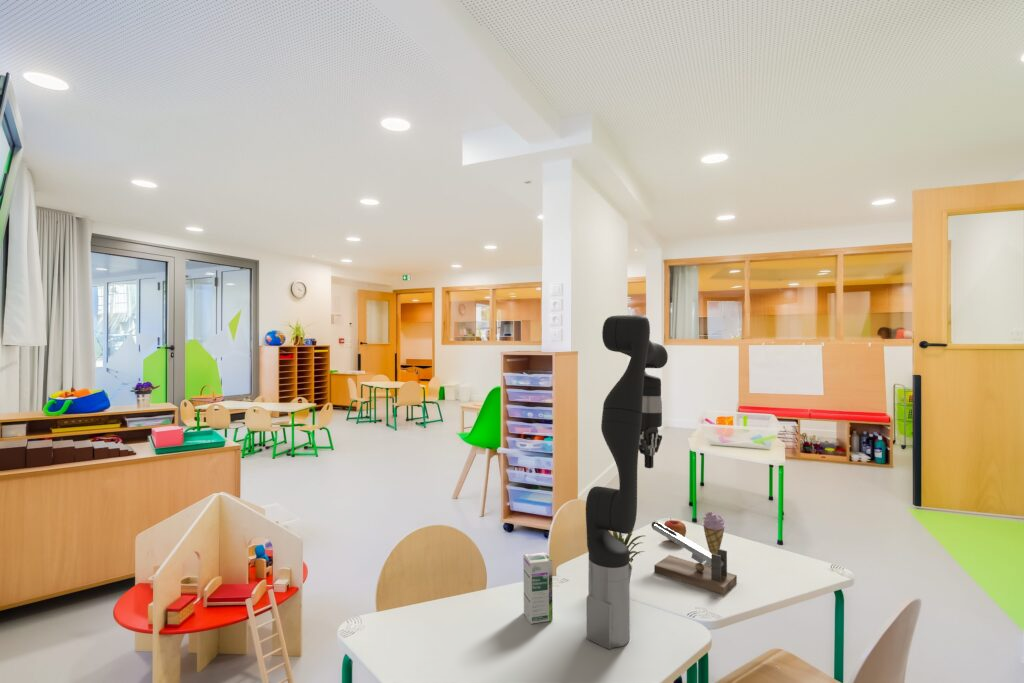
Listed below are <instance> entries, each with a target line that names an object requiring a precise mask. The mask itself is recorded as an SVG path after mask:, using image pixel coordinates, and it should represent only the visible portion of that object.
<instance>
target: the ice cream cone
mask: <svg viewBox="0 0 1024 683" xmlns="http://www.w3.org/2000/svg"><path fill="white" fill-rule="evenodd" d="M702 520H703V531H704V535H705V540H706V544H707V547H708V551H709V552H710V553H713V554H716V555H717V549H721V545H722V541H723V538H724V532H725V528H726V526H725V519H724V518H723V517H722V515H720V514H718V513H715V512H713V511H711V510H710V511H707V513H705V516H704V517H702Z"/></svg>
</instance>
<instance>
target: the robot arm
mask: <svg viewBox="0 0 1024 683" xmlns="http://www.w3.org/2000/svg"><path fill="white" fill-rule="evenodd" d="M603 322H604V323H603V325H602V330H601V331H602V332H601V334H602V335H601V336H602V342H603V345H604V347H605V348H606V349H607V350H609V351H611V352H615V353H622V354H624V355H626V356H628V357H630V360H629V362H628V365H627V367H626V369H625V372H624V373H623V375H622V376H621V377H620V379H619V380H618V381H617V382H616V383H615V385H614V386H613V387H612V389H611V390H610V392H608V394H607V396H605V397H606V398H605V399H604V401H603V405H602V406H603V407H602V415H601V424H600V425H601V426H600V427H601V428H600V429H601V433H602V437H603V438H604V441H605V444H606V445H607V447H608V449H609V451H610V453H611V455H612V458H613V459H614V461H615V465H616V468H617V473H618V480H619V481H618V482H619V487H618V488H611V487H605V486H599V485H598V486H592V488H590V490H589V491H588V493H587V496H586V500H585V502H586V503H585V526H586V547H587V551H588V575H587V576H588V578H587V579H588V582H587V583H588V588H587V589H588V595H587V596H586V639H587V640H589V641H591V642H593V643H595V644H597V645H599V646H601V647H603V648H605V649H607V650H612V649H613V648H620V647H623V646H626V645H627V644H628V643H629V642H630V636H631V635H630V632H631V631H630V630H631V629H630V627H631V626H630V625H631V624H630V622H631V620H630V619H631V618H630V617H631V616H630V613H631V612H630V610H631V609H630V607H631V606H630V604H631V602H630V584H629V563H630V558H631V557H630V555H631V554H629V551H630V549H629V548H628V547H627V546H626V545H625V544H623V543H622V542H620V541H619V540H617V539H616V538H615V537H614V536H613V532H617V533H618V534H619V533H621V534H627V535H628V533H630V532H631V531H632V530H633V529H635V525H636V521H637V513H638V512H637V511H638V466H639V464H638V463H639V453H640V454H642V455H643V456H644V468H645V469H653V468H654V456H655V455H656V453H658V452H659V448H660V445H661V442H662V440H663V435H661V434H659V428H660V427H662V426H663V401H662V380H661V378H660V377H659V376H656V375H655V376H654V375H650V374H648V373H647V372H646V369H663V367H665V365H666V364H667V362H668V360H669V359H668V357H669V355H668V352H667V350H666V348H665V346H663V345H662V344H660V343H658V342H657V343H656V342H654V341H653V342H652V341H651V339H650V336H651V327H650V325H651V324H650V321H649V318H648V317H647V316H645V315H636V314H633V315H630V314H629V315H611V316H609V317H607V318H606V319H605V321H603ZM633 531H634V530H633ZM611 532H612V533H611Z"/></svg>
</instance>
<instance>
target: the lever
mask: <svg viewBox="0 0 1024 683" xmlns="http://www.w3.org/2000/svg"><path fill="white" fill-rule="evenodd" d="M651 528H652V530H653V531H655V532H656V533H659V534H660V535H661V536H663V537H665V538H666V539H668V540H669V539H670V540H672V541H673V542H674V543H675V544H677V545H679V546H680V547H682V548H684V549H685V550H687V551H689V552H690V553H692V554H691V559H693V560H694V561H696V562H697V563H701V564H704V562H706V563H709V564H710V565H711V554H712V553H710V551H709V550H707V549H705V548H703V547H702V546H700V545H698V544H697V543H694V542H693V541H692V540H689V539H688V538H686V536H685V537H683V536H681V535H680V534H678V533H676V532H674V531H673V530H671V529H669V528H668V527H666V526H664V524H663V523H661V522H658V521H655V520H654V521H652V522H651ZM670 540H669V541H670ZM673 542H672V543H673ZM724 564H725V561H724V560H723V559H722V558H721V567H722V566H723V565H724Z"/></svg>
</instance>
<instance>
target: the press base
mask: <svg viewBox="0 0 1024 683" xmlns="http://www.w3.org/2000/svg"><path fill="white" fill-rule="evenodd" d="M721 558H722V559H723V560H724V561H725V564H724V565H723V566H722V567H721ZM710 565H711V566H707V565H704V563H699V562H693V561H690V560H687V559H684V558H679V557H677V556H674V555H670V554H669V555H667V556H666V557H665V558H663V559H662V560H660V561H658V562H657V563H655V564H654V568H653V569H654V573H657V574H659V575H662V576H666V577H669V578H671V579H675V580H678V581H681V582H684V583H687V584H689V585H692V586H693V585H694V586H696V587H699V588H702V589H705V590H706V591H707V590H708V591H711V592H713V593H717V594H720V595H723V596H724V595H726V593H727V592H729V591H730V589H732V588H733V587H734V586H735V584H736V583H738V582H737V581H738V580H737V579H738V577H737V575H736V574H734V573H731V572H728V550H725V549H721V548H720V549H717V555H716V554H713V553H712V554H711V564H710Z"/></svg>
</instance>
